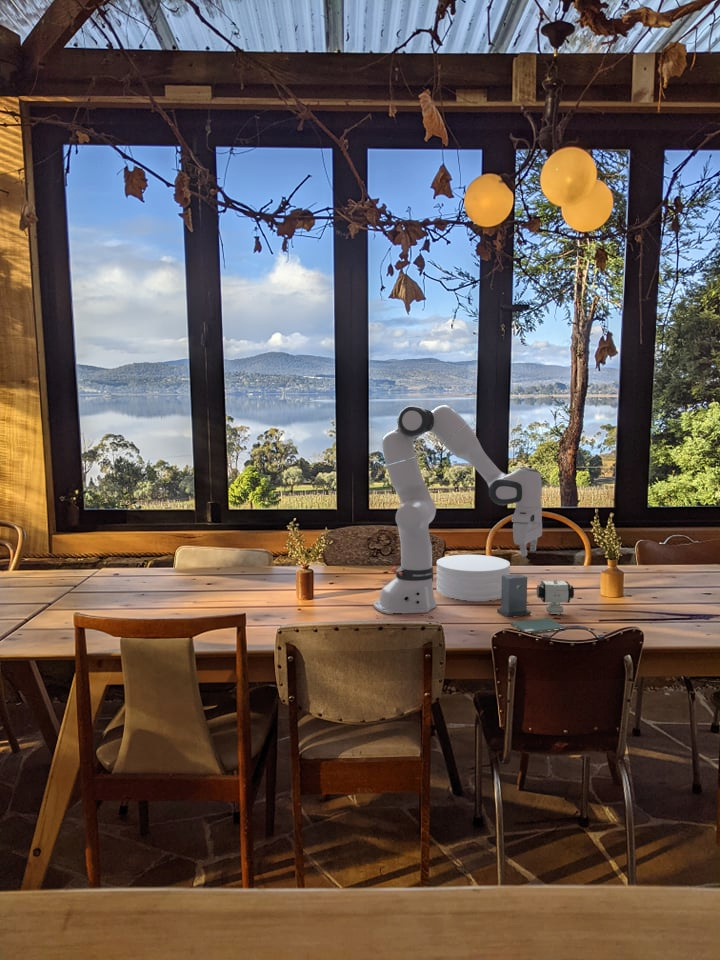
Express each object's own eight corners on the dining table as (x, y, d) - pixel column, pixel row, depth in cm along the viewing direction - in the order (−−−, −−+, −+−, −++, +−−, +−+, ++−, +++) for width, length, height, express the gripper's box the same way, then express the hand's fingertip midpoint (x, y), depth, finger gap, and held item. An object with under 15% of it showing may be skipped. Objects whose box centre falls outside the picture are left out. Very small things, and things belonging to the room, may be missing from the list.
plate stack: (425, 596, 258) (425, 566, 256) (451, 579, 282) (451, 552, 281) (497, 605, 245) (498, 574, 243) (517, 586, 269) (518, 558, 268)
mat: (526, 634, 213) (526, 631, 213) (510, 624, 223) (510, 621, 223) (565, 629, 217) (565, 626, 217) (547, 620, 227) (547, 617, 227)
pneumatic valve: (536, 611, 236) (536, 577, 235) (570, 612, 236) (571, 578, 234) (539, 616, 231) (539, 582, 230) (574, 616, 230) (575, 582, 229)
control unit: (507, 618, 230) (507, 579, 228) (497, 612, 236) (497, 574, 235) (530, 615, 232) (531, 577, 231) (520, 609, 239) (520, 572, 237)
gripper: (529, 509, 246) (529, 547, 247) (509, 517, 229) (509, 558, 230) (546, 510, 242) (546, 548, 244) (528, 519, 225) (527, 559, 227)
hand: (528, 553), depth 237 cm, fingers open, 8 cm apart
